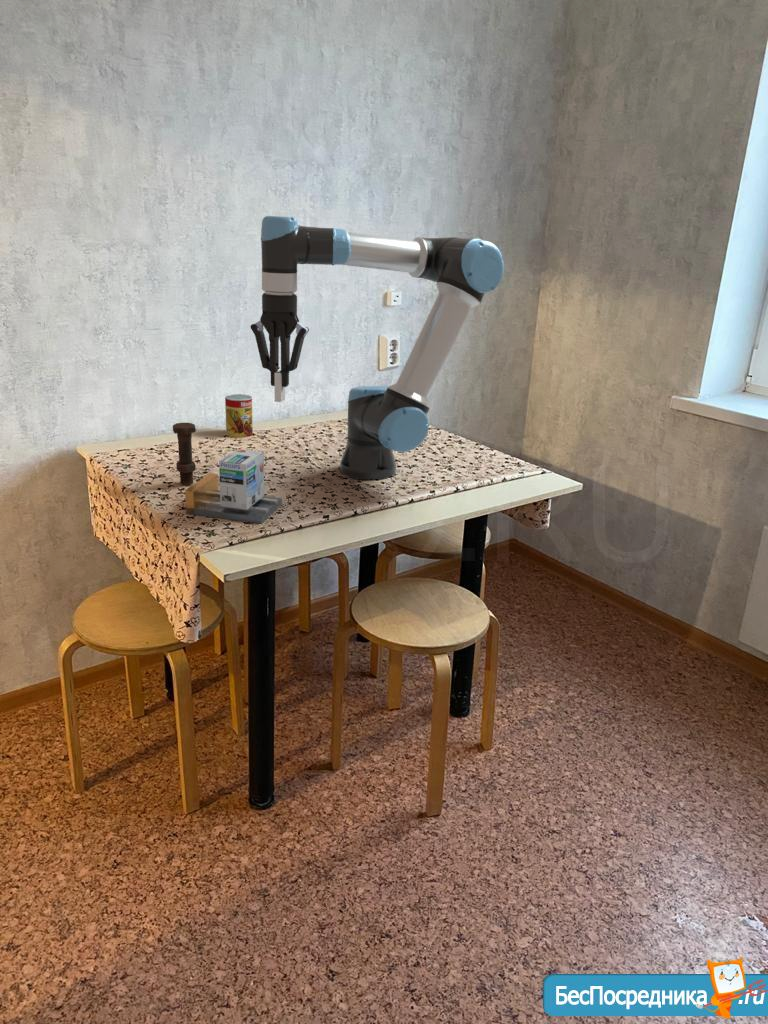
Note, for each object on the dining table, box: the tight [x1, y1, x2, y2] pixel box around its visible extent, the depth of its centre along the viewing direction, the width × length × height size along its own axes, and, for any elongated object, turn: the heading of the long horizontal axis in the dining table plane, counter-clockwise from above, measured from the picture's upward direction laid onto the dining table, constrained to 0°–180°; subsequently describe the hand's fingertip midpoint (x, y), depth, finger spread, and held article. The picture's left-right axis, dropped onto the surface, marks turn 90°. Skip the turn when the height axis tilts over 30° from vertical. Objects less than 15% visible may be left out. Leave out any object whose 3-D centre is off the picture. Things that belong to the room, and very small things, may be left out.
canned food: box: [224, 393, 254, 439], centre depth 232 cm, size 8×8×12 cm
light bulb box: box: [218, 448, 265, 510], centre depth 175 cm, size 11×7×11 cm, turn 166°
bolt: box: [172, 422, 197, 486], centre depth 189 cm, size 6×5×15 cm
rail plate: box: [184, 472, 283, 525], centre depth 177 cm, size 18×13×6 cm
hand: (279, 400), depth 174 cm, fingers closed
